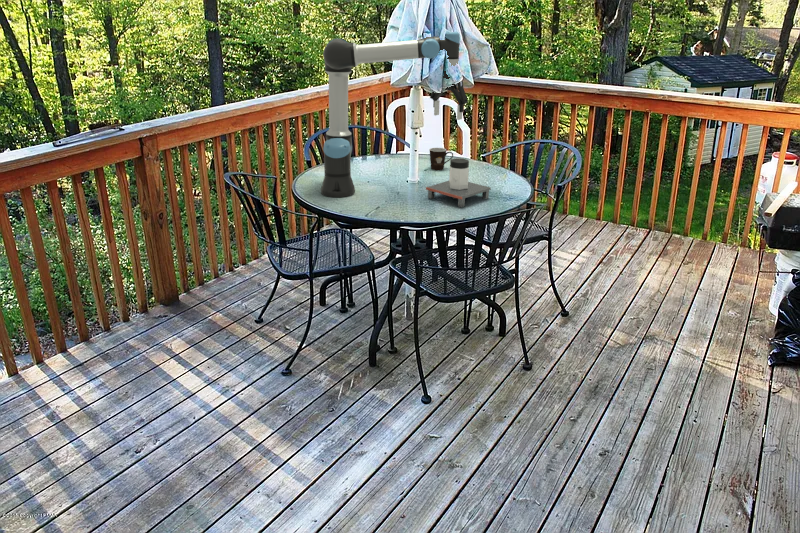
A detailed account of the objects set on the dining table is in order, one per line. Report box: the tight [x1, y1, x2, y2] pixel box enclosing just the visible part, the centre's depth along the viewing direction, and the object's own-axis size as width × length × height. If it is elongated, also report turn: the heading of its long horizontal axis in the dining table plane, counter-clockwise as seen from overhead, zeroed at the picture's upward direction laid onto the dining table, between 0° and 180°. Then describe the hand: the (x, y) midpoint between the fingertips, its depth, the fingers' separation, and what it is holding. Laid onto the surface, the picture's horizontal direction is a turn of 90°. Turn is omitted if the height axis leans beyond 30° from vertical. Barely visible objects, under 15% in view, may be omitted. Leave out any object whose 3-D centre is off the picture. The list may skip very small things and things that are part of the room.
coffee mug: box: [429, 147, 454, 171], centre depth 336 cm, size 12×9×10 cm
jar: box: [448, 157, 470, 190], centre depth 288 cm, size 9×8×12 cm
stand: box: [425, 180, 492, 208], centre depth 291 cm, size 20×21×5 cm
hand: (447, 117), depth 299 cm, fingers open, 13 cm apart
